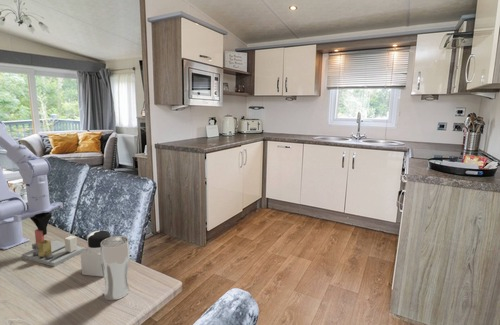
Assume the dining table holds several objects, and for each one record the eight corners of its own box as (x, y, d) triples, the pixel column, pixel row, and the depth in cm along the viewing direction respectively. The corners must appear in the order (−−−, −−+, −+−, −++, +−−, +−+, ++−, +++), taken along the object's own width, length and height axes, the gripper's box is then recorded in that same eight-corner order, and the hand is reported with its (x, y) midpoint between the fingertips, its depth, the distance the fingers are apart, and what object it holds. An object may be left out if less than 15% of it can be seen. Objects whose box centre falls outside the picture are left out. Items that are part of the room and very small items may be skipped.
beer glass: (136, 288, 76) (135, 238, 73) (116, 304, 69) (114, 249, 67) (116, 282, 78) (114, 233, 75) (96, 297, 71) (93, 244, 69)
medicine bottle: (118, 264, 87) (116, 229, 85) (104, 277, 80) (102, 239, 78) (97, 262, 88) (95, 227, 86) (81, 275, 81) (78, 237, 79)
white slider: (65, 250, 91) (64, 238, 90) (72, 247, 93) (71, 235, 93) (70, 252, 90) (69, 239, 90) (77, 248, 93) (76, 236, 92)
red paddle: (35, 248, 92) (33, 230, 91) (38, 246, 93) (37, 228, 92) (43, 250, 91) (41, 232, 90) (46, 248, 92) (44, 230, 91)
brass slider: (38, 255, 87) (37, 243, 86) (46, 252, 89) (45, 239, 89) (44, 257, 86) (43, 244, 86) (51, 253, 89) (50, 241, 88)
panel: (20, 257, 89) (19, 249, 88) (53, 242, 99) (53, 235, 99) (54, 266, 84) (53, 258, 84) (85, 250, 95) (84, 243, 94)
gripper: (22, 203, 81) (28, 245, 83) (68, 191, 95) (71, 228, 97) (6, 200, 83) (12, 242, 86) (53, 189, 97) (56, 225, 99)
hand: (42, 234), depth 92 cm, fingers closed, pressing on red paddle
